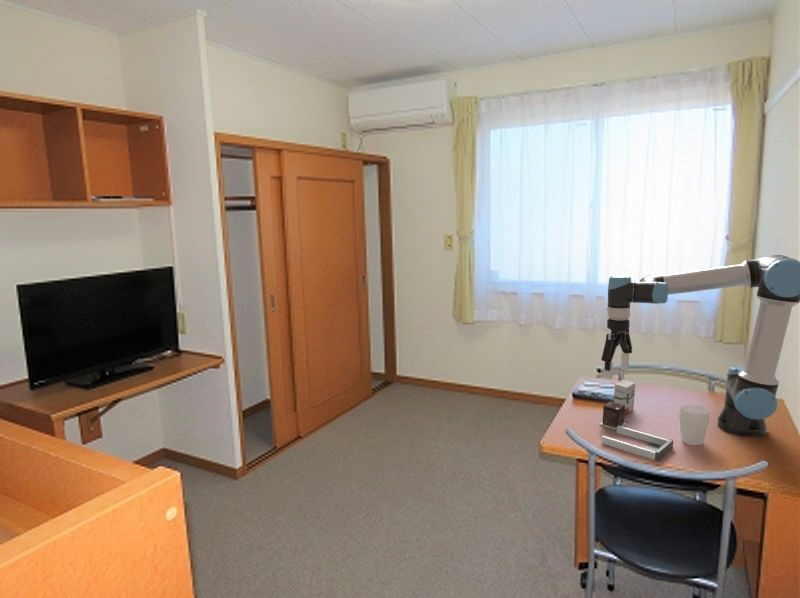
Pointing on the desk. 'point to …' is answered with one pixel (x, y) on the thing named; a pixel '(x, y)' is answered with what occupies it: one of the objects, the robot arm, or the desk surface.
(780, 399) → the desk surface
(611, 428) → the pad
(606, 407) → the box
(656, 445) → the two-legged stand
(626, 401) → the ink box
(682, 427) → the cup
